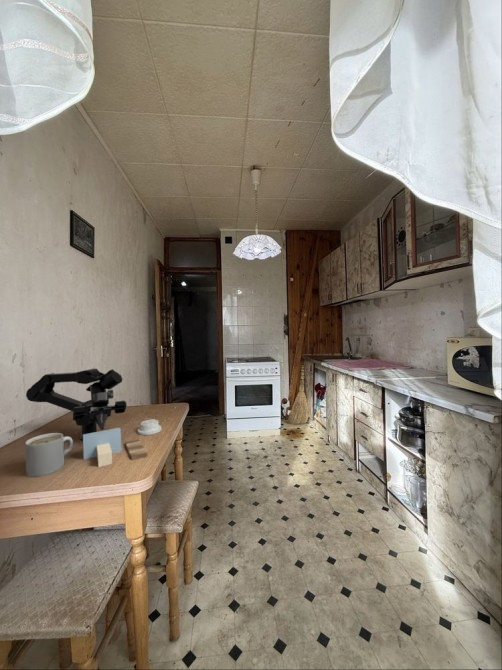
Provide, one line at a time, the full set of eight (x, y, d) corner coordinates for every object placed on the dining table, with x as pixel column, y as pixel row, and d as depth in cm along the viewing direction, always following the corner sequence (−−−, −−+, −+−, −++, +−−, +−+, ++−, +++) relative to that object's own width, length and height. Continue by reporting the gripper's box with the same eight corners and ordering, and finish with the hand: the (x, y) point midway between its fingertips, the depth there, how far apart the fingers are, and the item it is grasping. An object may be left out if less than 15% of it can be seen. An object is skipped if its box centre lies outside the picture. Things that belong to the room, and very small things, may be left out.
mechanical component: (132, 435, 117) (153, 436, 115) (132, 425, 117) (153, 426, 115) (146, 426, 127) (165, 428, 125) (145, 417, 126) (165, 418, 124)
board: (125, 444, 107) (124, 441, 107) (138, 441, 109) (138, 438, 109) (131, 460, 93) (131, 456, 93) (147, 456, 96) (147, 452, 96)
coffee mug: (31, 480, 82) (30, 447, 81) (22, 470, 88) (21, 440, 87) (80, 462, 92) (79, 433, 92) (69, 455, 98) (68, 427, 98)
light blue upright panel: (83, 456, 97) (82, 434, 97) (120, 448, 103) (119, 427, 103) (84, 470, 87) (83, 446, 87) (125, 460, 93) (124, 437, 93)
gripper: (72, 386, 103) (73, 423, 94) (125, 381, 114) (131, 413, 105) (72, 402, 109) (73, 438, 101) (122, 396, 120) (127, 427, 111)
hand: (102, 429), depth 104 cm, fingers closed
